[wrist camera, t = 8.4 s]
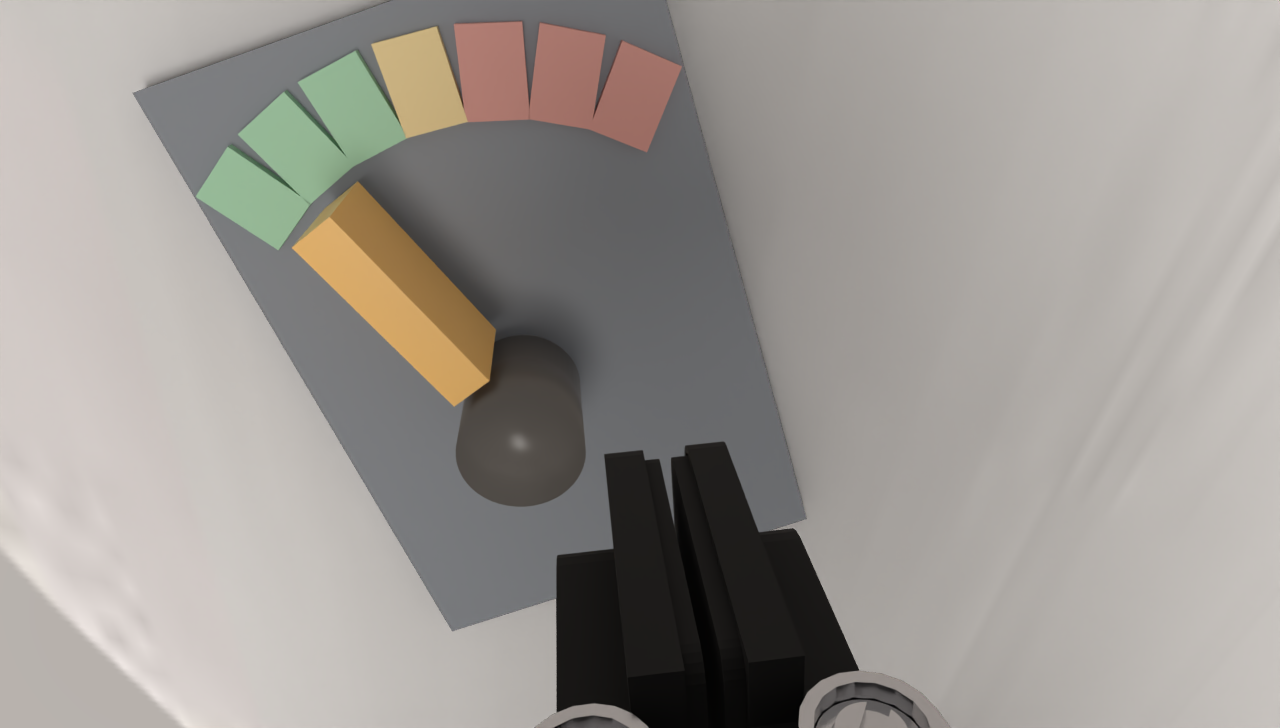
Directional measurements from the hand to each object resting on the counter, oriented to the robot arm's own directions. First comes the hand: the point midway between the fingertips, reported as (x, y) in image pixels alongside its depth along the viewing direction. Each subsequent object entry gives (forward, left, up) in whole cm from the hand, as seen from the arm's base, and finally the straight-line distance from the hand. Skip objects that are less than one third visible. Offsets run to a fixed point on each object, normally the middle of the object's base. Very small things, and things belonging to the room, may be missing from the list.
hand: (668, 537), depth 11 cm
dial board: (+1, +4, -15) cm, 15 cm away
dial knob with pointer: (+3, +3, -13) cm, 14 cm away
